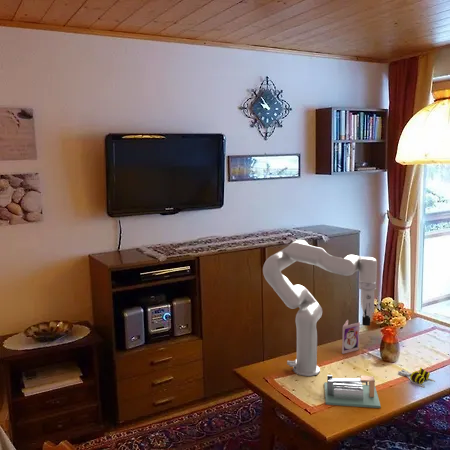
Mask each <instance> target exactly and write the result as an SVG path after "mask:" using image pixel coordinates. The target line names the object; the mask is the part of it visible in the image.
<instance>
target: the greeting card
mask: <svg viewBox="0 0 450 450" xmlns="http://www.w3.org/2000/svg"><path fill="white" fill-rule="evenodd" d="M360 324H361V322H354V323H351V324H349V319H346V321H345V323H344V324H343V325H342V335H341V336H342V339H341V340H342V343H341V345H342V347H341V354H348V353H351V352H355V351H358V350H360V332H361V331H360V329H361V328H360V327H361V325H360Z"/></svg>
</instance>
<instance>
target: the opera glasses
mask: <svg viewBox="0 0 450 450" xmlns="http://www.w3.org/2000/svg"><path fill="white" fill-rule="evenodd" d="M411 373H412V374H411V376H410V379H411V380H412V381H415V382H417V383H418V384H420V385H422V384H424V382H425V380H426V381H428V378H430V374H431V373H430V372H428V371H427V370H426V369H423V367H420V368H419V370H418V371H417V370H415V371H413V372H411ZM410 379H409V380H410Z"/></svg>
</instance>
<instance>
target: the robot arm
mask: <svg viewBox="0 0 450 450" xmlns="http://www.w3.org/2000/svg"><path fill="white" fill-rule="evenodd" d="M295 262H299V263H303V264H308V265H314V266H316V267H319V268H320V269H323V270H324V271H326V272H329V273H332V274H335V275H340V276H352V275H354V273H356V272H358V289H359V290H360V306H361V310H362V320H361V321H362V322H361V324H362V326H367V327H368V326H371V313H374V312H375V290H377V280H378V279H377V276H378V274H377V272H378V271H377V270H378V261H377V259H376V258H375V257H372V256H361V255H355V254H348V255H346V256H344V257H343V258H342V257H338V256H334V255H331V254H329V253H328V252H327V251H326V250H325V249H324V248H323V247H318V246H314V245H310V244H309V243H308V242H307V241H306V240H303V239H297V240H295V241H293V242H291V243H289V244H288V246H286V247H284V248H283V249H280V250H279V251H277V252H276V253H274V254H271V255H270V256H269V257H267V259H266V260H265V262H264V264H263V266H262V273H263V274H262V275H263V276H264V277H263V278H264V279H265V281H266V282H267V283H268V285H269V286H270V287H271V288H272V289H273V291H274V292H275V293H276V294H277V296H278V297H279V298H280V299H281V301H282V302H283V303H284V304H285V306H286V307H288V308H289V309H292V310H293V309H294V310H295V309H297V308H299V309H298V311H297V312H296V314H295V326H296V358H295V360H287V361H286V365H287V366H289V367H293V368H292V371H293V372H294V373H295V374H297V375H300V376H302V377H303V376H304V377H313V376H317V375H319V374H320V372H321V369H320V367H319V366H318V365H317V363H318V361H317V359H318V356H317V355H318V331H317V322H319V320H320V318H322V315H323V308H322V306H321V305H320V304H319V302H318V301H317V299H316V298H315V297H314V295H313V294H312V293H311V292H310V291H309V289H307V287H305V286H303V285H301V284H293V283H292V282H291V281H290V280H289V278H288V277H287V276H285V275H284V274H283V273H282V271H283V270H285V269H286V268H288V267H289V266H291V265H293V264H294V263H295Z"/></svg>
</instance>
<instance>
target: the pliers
mask: <svg viewBox="0 0 450 450" xmlns="http://www.w3.org/2000/svg"><path fill="white" fill-rule="evenodd" d="M397 373H398V375H400V376H403V377H406V378H408V379H409V380H410V381H409V382H411V383H413V384H414V385H416V386H419V387H421V388H425V386H424V385H422V384H419V383H417V382H415V381H412V380H411V379H410V376H411V374H412V373H413V372H409V371H407V370H404V369H401V371H400V370H398V372H397ZM428 380H429V381H432V382H436V380H435V379H433V378H430V377H429V378H428ZM428 380H427V381H428Z"/></svg>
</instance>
